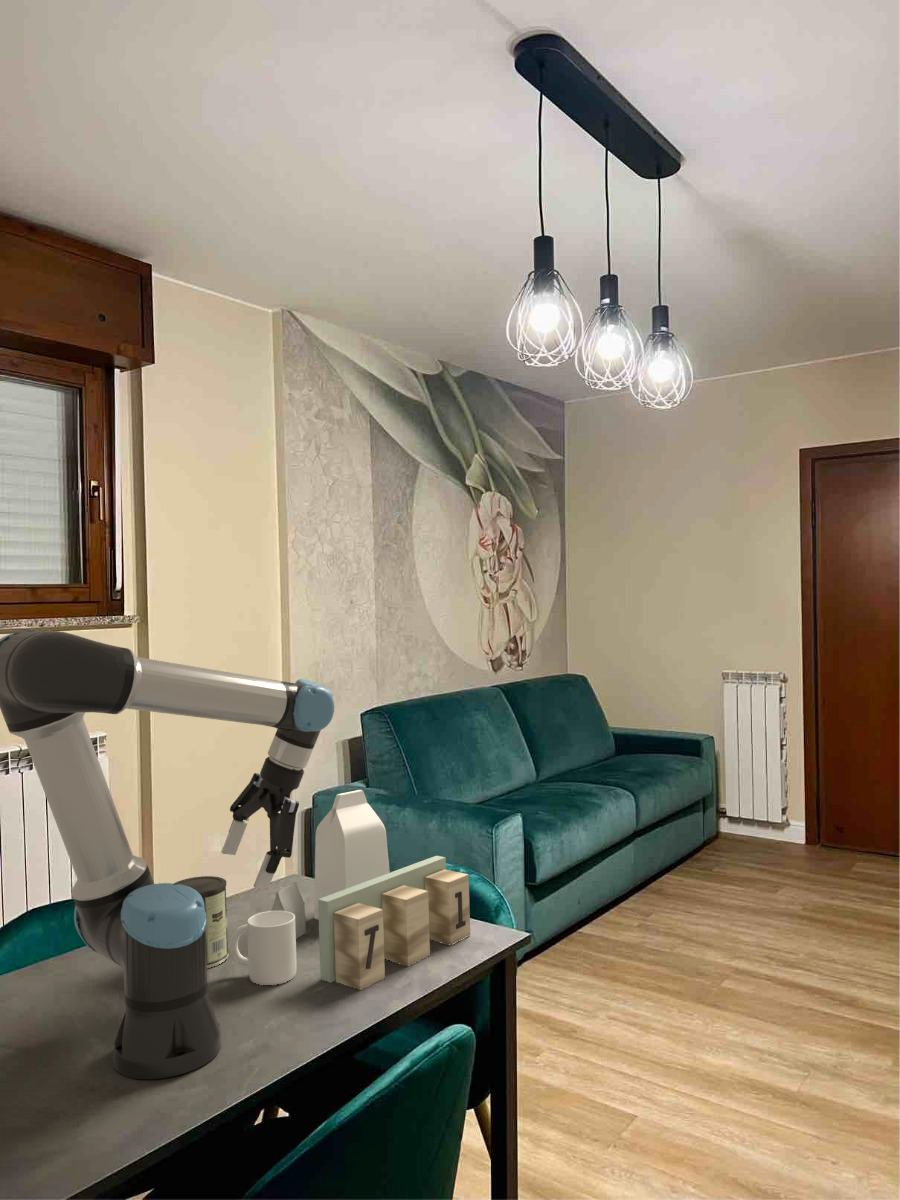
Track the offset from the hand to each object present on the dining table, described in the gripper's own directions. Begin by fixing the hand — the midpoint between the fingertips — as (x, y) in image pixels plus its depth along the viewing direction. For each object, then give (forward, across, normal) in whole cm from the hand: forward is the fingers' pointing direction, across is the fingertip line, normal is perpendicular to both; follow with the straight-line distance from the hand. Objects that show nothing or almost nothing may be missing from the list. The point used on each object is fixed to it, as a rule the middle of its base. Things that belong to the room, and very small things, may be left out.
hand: (243, 870), depth 167 cm
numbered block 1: (+1, -20, -37) cm, 42 cm away
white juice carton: (+13, +1, -17) cm, 21 cm away
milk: (+9, +2, -32) cm, 33 cm away
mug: (+14, -12, -4) cm, 19 cm away
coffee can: (+19, +2, 0) cm, 19 cm away
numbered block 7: (+7, -25, -14) cm, 29 cm away
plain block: (+4, -22, -25) cm, 34 cm away
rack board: (+5, -18, -25) cm, 31 cm away
